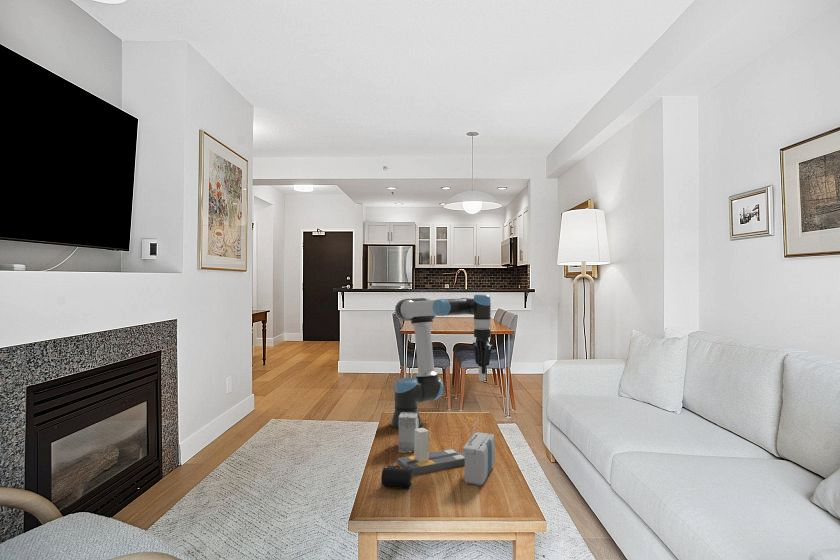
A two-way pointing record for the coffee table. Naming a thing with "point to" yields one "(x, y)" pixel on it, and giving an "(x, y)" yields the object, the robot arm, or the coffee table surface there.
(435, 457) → the grey flat board
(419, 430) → the slider tab
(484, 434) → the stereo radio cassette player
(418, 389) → the robot arm
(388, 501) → the coffee table surface
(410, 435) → the circuit breaker
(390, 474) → the end cap
